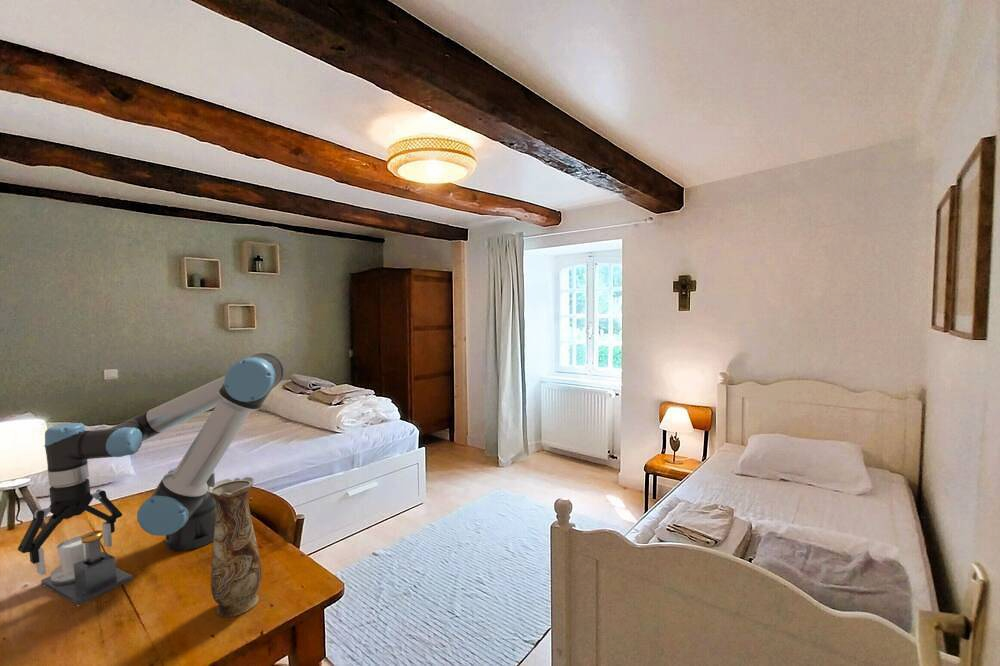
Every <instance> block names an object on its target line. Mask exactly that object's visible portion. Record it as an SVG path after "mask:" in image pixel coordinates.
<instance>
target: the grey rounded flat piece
mask: <svg viewBox="0 0 1000 666" xmlns="http://www.w3.org/2000/svg"><path fill="white" fill-rule="evenodd" d="M50 576H51V583H52V584H54V585H64V584H69V583H73V582H75V575H74V572H70V573H64V572H62V567H61V565H60V566H57V567H56V568H55V569H54V570H52V571H51V573H50Z"/></svg>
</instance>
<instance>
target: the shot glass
mask: <svg viewBox="0 0 1000 666" xmlns="http://www.w3.org/2000/svg"><path fill="white" fill-rule="evenodd" d="M82 536H83V535H79V536H74V537H71V538H68V539H66V540H64V541H61V542H60V543H59V544H58V545H57V546H56V550H57V555H58V559H59V562H60V563H59V564H60V566H61V567H62V572H64V573H70V572H74V564H75V563H78V562H80V561H82V560H85V559H86V548H85V543H82V541H81V537H82Z"/></svg>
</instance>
